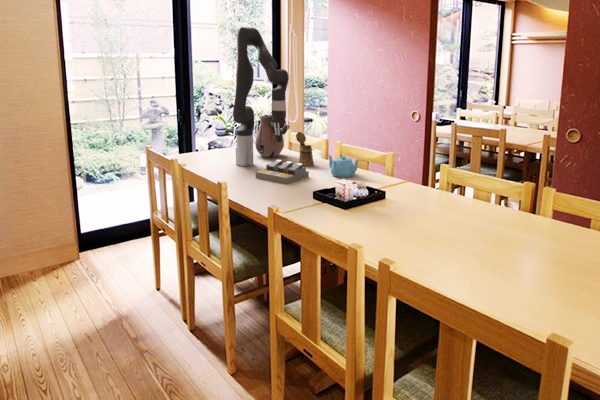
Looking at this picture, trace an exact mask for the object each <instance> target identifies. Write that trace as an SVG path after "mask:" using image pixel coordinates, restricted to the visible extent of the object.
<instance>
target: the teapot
mask: <svg viewBox="0 0 600 400" xmlns="http://www.w3.org/2000/svg"><path fill="white" fill-rule="evenodd" d="M327 156H328V158H329V162H328V163H329V164H328V165H329V169H330V173H331V175H332V176H334V177H336V178H350V177H353V176H354V175H355V174H356V172H357V170H358V165H359V164H358V163H359V161H360V160H361V159H360V158H359V159H356V160H355V161H354V163H353V160H352V158H350V157H346V155H340V157H337V158H335V160H333V157H332V155H330V154H327Z"/></svg>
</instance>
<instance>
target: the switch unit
mask: <svg viewBox="0 0 600 400" xmlns="http://www.w3.org/2000/svg"><path fill="white" fill-rule="evenodd" d="M270 164H271V163H268V164H266V165H265V167H266V168H265V169H261V170H258V171H255V178H256V179H260V180H264V181H269V182H274V183H275V182H276V183H279V184H285V185H289V184H291V183H292V184H293V183H295V182H298V181H301V180H304V179H308V178H309V176H310V175H309V173H310V171H308V170H307V167H305V166H304V167H303V168H300V169H297V170H295V173H290V172H289V169H290V168H291V167H293V166H294V165H295V164H293V165H292V166H290V167H286V168H284V171H280V170H279V169H278V167H280V166H281V165H283V164H284V163H282V164H280V165H276V166H274V169H270V168H268V165H270Z"/></svg>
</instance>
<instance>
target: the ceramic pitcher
mask: <svg viewBox="0 0 600 400" xmlns="http://www.w3.org/2000/svg"><path fill="white" fill-rule="evenodd" d="M259 118H260V125H259V127H258V131H257V135H256V138H255V150H256V152H257V153H258V154H259V155H260V156H261V157H265V158H275V157H278V156H279V155H280V154H281V152H282V151H283V149H284V147H285V144H284V143H285V142H284V134H283V135H282V141H281V142H277V141H276V134H273V132H272V130H271V129H270V127H269V124H270V123H272V119H273V118H272V114H271V115H269V114H263V115H260V116H259ZM277 129H278V128H277Z"/></svg>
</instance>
